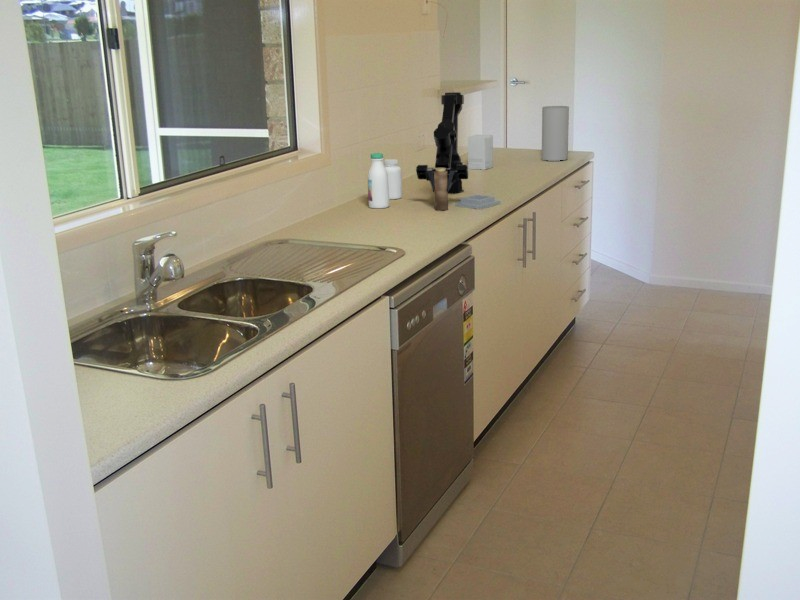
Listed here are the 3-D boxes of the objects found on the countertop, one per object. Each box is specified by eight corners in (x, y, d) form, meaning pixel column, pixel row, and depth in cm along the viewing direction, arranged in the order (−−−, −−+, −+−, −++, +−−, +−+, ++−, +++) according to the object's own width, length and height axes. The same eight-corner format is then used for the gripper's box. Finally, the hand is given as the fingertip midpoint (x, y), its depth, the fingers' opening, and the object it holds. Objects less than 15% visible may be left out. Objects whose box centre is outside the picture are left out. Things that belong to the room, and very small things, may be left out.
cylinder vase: (538, 158, 427) (539, 106, 419) (563, 157, 428) (564, 105, 421) (545, 162, 415) (546, 108, 408) (570, 160, 416) (572, 107, 409)
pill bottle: (405, 196, 345) (404, 158, 341) (397, 200, 338) (395, 161, 334) (387, 195, 348) (386, 158, 344) (378, 199, 342) (377, 161, 337)
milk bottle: (392, 205, 329) (390, 152, 323) (385, 209, 322) (382, 155, 316) (373, 204, 332) (370, 152, 326) (365, 208, 325) (363, 155, 319)
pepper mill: (432, 210, 318) (431, 168, 314) (440, 207, 322) (439, 166, 317) (442, 211, 315) (441, 169, 310) (450, 209, 318) (449, 167, 314)
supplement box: (493, 167, 407) (493, 134, 402) (485, 170, 400) (484, 137, 395) (476, 166, 411) (476, 134, 407) (467, 169, 404) (467, 136, 400)
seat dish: (455, 205, 324) (455, 198, 323) (474, 200, 332) (474, 193, 331) (480, 209, 316) (480, 201, 315) (500, 203, 325) (500, 196, 324)
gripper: (470, 168, 327) (468, 203, 320) (421, 169, 331) (418, 203, 324) (468, 150, 317) (465, 186, 310) (417, 151, 321) (413, 186, 314)
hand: (440, 191), depth 315 cm, fingers closed on pepper mill, 5 cm apart
